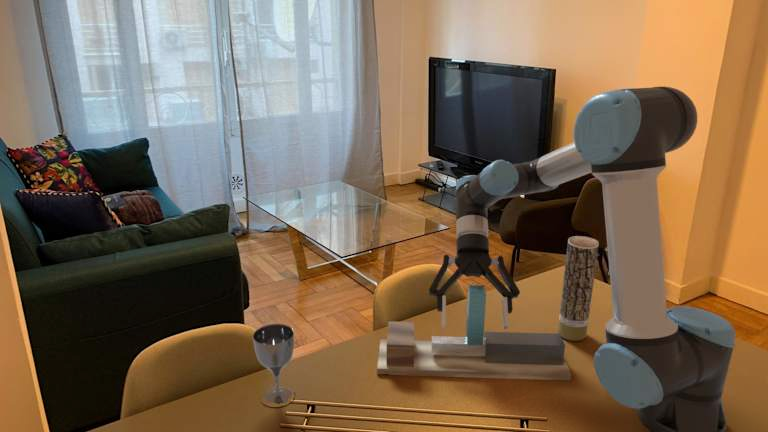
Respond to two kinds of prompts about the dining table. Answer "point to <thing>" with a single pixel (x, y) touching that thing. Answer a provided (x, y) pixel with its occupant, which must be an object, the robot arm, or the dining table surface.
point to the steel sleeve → (524, 348)
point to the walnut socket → (400, 344)
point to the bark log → (577, 287)
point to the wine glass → (275, 355)
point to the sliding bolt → (474, 329)
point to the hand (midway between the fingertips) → (474, 326)
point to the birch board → (467, 366)
